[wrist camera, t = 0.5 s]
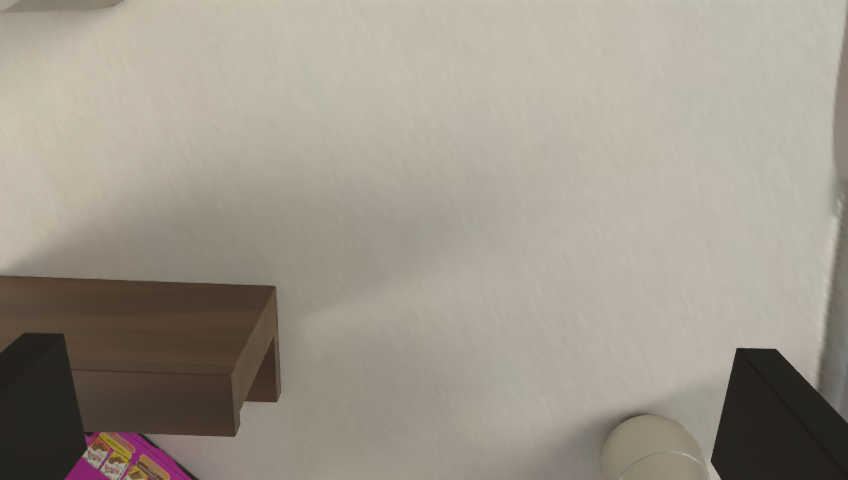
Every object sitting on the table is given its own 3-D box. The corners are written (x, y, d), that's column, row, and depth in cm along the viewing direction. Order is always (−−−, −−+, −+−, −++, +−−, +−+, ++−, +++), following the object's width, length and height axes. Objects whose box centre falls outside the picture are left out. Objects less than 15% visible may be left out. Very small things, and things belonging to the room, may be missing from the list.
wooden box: (-13, 270, 41) (-158, 361, 30) (279, 281, 41) (230, 375, 31) (12, 382, 44) (-113, 499, 33) (284, 392, 44) (241, 511, 34)
